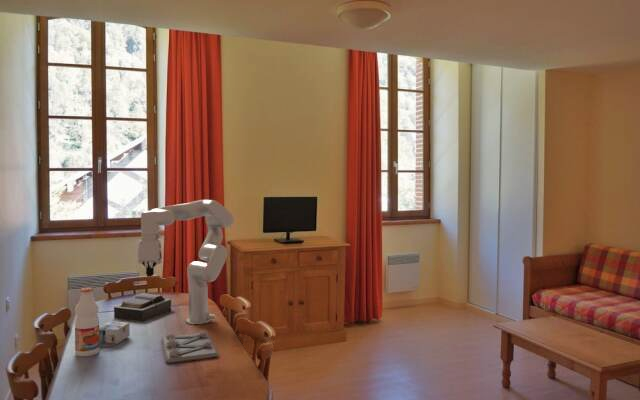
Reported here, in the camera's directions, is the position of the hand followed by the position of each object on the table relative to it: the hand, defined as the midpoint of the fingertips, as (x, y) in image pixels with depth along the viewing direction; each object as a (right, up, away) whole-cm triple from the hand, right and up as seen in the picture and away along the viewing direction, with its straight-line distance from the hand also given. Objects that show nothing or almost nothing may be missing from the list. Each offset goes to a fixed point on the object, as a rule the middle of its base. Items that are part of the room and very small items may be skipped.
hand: (149, 275), depth 227 cm
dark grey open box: (-17, -28, +39) cm, 51 cm away
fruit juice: (-20, -30, -20) cm, 41 cm away
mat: (-18, -29, -4) cm, 35 cm away
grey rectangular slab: (+22, -31, -14) cm, 40 cm away
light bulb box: (-10, -26, -5) cm, 28 cm away
